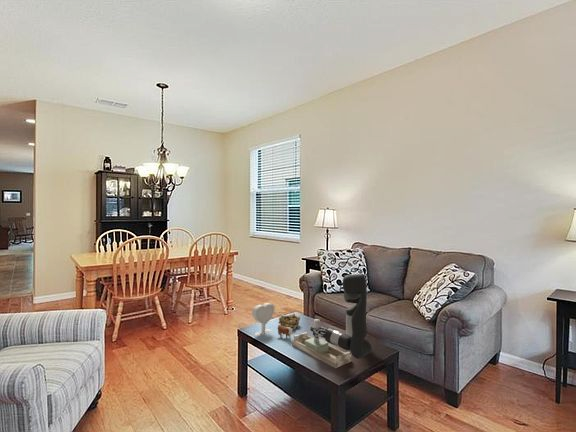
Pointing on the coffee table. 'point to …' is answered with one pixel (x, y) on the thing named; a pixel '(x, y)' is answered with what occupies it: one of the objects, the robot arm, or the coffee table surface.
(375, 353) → the coffee table surface
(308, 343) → the green block with post
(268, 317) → the heart sculpture
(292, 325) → the mineral formation
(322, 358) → the bay
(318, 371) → the coffee table surface
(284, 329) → the bull figurine
